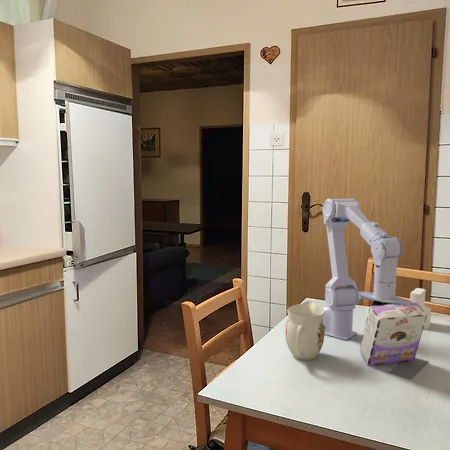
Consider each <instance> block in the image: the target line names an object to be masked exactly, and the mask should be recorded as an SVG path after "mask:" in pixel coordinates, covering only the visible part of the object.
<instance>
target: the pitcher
mask: <svg viewBox="0 0 450 450" xmlns="http://www.w3.org/2000/svg"><path fill="white" fill-rule="evenodd" d="M286 310H287V316H288V319H287V322H286V325H285V340H286V344H287V347H288V350H289V351H290V353H291V355H292V356H293V357H294V358H295V359H297V360H298V359H299V360H305V361H306V360H307V361H310V360H313V359H316V357H318V355H319V353H320V352H321V350H322V348H323V345H324V340H325V330H324V324H323V321H322V320H323V316H324V310H323V308H322V307H320V306H319V305H318V304H316V303H315V302H314V301H312V300H311V301H309V300H307V301H303V302H301V303H298V304H293V305H291V306H289V307H288V308H287V309H286Z"/></svg>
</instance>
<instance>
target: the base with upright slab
mask: <svg viewBox="0 0 450 450" xmlns="http://www.w3.org/2000/svg"><path fill="white" fill-rule="evenodd" d="M426 290H427V289H424V288H421V287H420V288H419V287H418V288H417V287H415V289H414V290H412V291H411V292H410V296H409V300H410V301H412V303H413V302H416V303H417V304H418V305H419V306H420V307H421V308H422V309H423V310H424V312H425V313H426V314H427V318H426V321H425V325H424V328H423V330H427V329H429V328H431V318H432V309H431V307H428V306H426V305H425V304H426V303H425V302H426Z"/></svg>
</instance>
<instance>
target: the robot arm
mask: <svg viewBox="0 0 450 450" xmlns="http://www.w3.org/2000/svg"><path fill="white" fill-rule="evenodd" d="M360 208H361V207H360V203H359V202H358V201H357V200H356V199H355V198H327V199H325V201H324V204H323V206H322V209H321V210H322V216H323V225H325V226H326V235H327V236H326V237H327V242H328V251H329V252H328V253H329V260H330V268H331V270H330V271H331V279H330V280H329V281H328V282H327V283H326V284H325V293H324V301H325V303H326V305H324V307H323V308H322V309H323V310H324V316H323V320H322V321H323V324H324V330H325V335H326V336H330V337H333V338H337V339H341V340H345V341H346V340H350V339H351V338H352V337H354V336H355V335H358V332H356V331H353V321H354V309H356V307H357V306H358V305H359V302H360V301H361V300H365V301H371V302H372V304H371V306H379V305H391V304H404V305H407V306H410V305H411V304H412V301H410V299H405V298H402V297H399V296H396V288H397V272H398V271H397V269H398V259H399V258H400V257H401V256H402V255H403V250H404V248H403V247H404V246H403V244H402V241H401V240H400V239H399V237H397V236H392V235H389V234H388V233H387V232H386V231H385V230H384V229H383V228H382V227H381V226H380V223H378V221H370V220H369V219H368V218H367V216H366V215H365V214H364V213H363V212H362V210H361V209H360ZM350 223H352V224H353V225H355V227H357V228H358V229H359V230H360V231H359V233H360V234H359V235H360V237H362V238H363V240H364V241H365V242H366V243H367V244H368V246H369V247H370V252H371V255H372V258H373V259H372V262H373V264H374V275H373V276H374V277H373V292H371V291H370V292H369V291H362V290H361V291H359V289H358V286H357V282H356V281H355V280H353V279H352V278H351V277H350V276H349V275H350V274H349V267H348V258H347V251H346V242H345V233H344V228H345V227H346V226H349V224H350ZM325 335H324V336H325Z"/></svg>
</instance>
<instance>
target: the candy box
mask: <svg viewBox="0 0 450 450" xmlns="http://www.w3.org/2000/svg"><path fill="white" fill-rule="evenodd" d="M426 318H427V314H426V313H425V312H424V310H423V309H422V308H421V307H420V306H419V305H418V304H417V303H416V302H413V303H412V304H411V305H410V306H407V305H404V304H391V305H379V306H372V305H370V306H369V309H368V313H367V317H366V322H365V326H364V331H363V334H362V339H361V344H360V348H359V353H360V355H361V356H362V358H363V360H364V362H365V364H366V365H367V366H370V367H371V366H378V365H386V364H387V365H388V364H396V363H397V364H399V363H400V362H408V361H414V359H415V358H416V355H417V352H418V349H419V345H420V341H421V339H422V338H421V337H422V334H423V331H424V329H423V328H424V325H425V321H426Z"/></svg>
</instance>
